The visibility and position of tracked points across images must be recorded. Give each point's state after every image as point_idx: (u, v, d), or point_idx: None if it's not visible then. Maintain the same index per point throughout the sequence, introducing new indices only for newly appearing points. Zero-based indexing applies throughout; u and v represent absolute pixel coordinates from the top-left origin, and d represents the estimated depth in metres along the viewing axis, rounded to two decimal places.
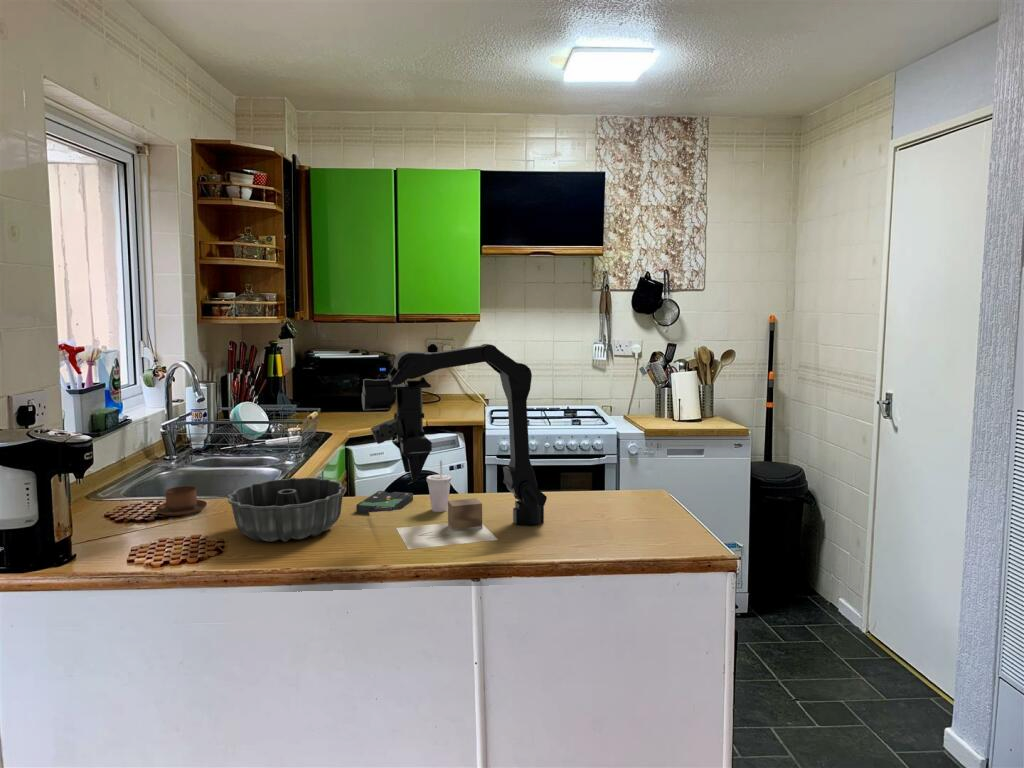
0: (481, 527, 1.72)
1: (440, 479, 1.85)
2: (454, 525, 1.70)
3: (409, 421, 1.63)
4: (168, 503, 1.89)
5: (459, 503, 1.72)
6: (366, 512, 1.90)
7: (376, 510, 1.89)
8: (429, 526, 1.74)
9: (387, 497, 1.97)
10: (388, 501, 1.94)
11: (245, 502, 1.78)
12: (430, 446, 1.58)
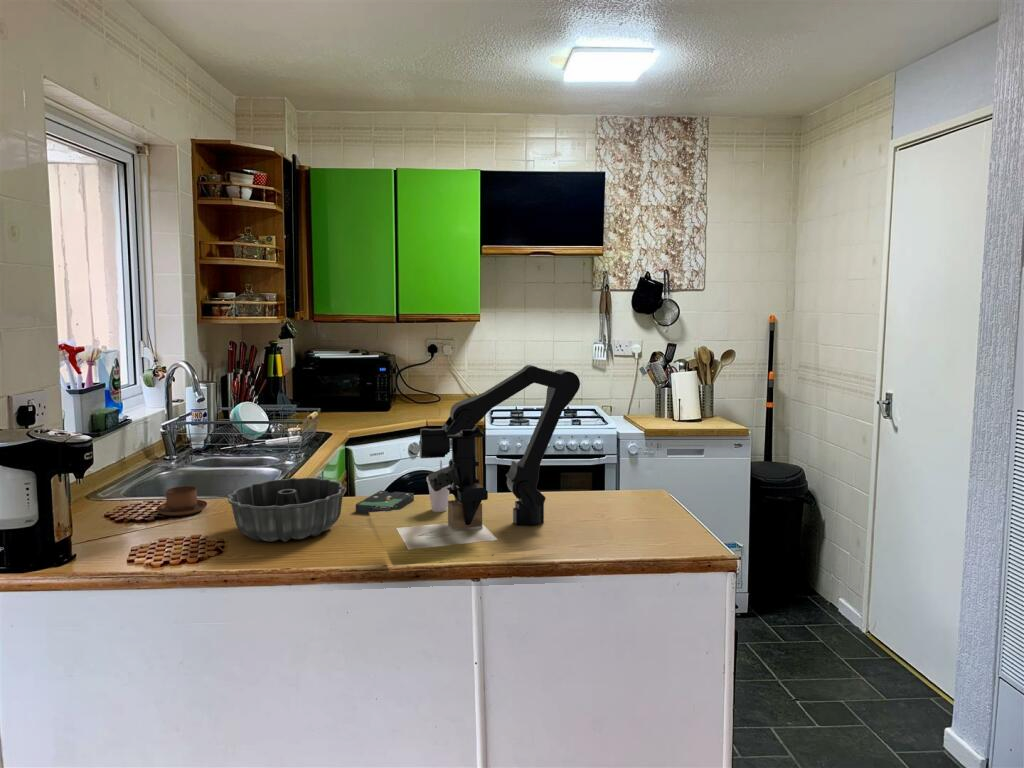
0: (481, 527, 1.72)
1: None
2: (454, 525, 1.70)
3: (465, 469, 1.69)
4: (168, 503, 1.89)
5: (459, 503, 1.72)
6: (365, 512, 1.90)
7: (375, 510, 1.89)
8: (429, 526, 1.74)
9: (387, 497, 1.97)
10: (388, 501, 1.94)
11: (245, 502, 1.78)
12: (486, 495, 1.65)
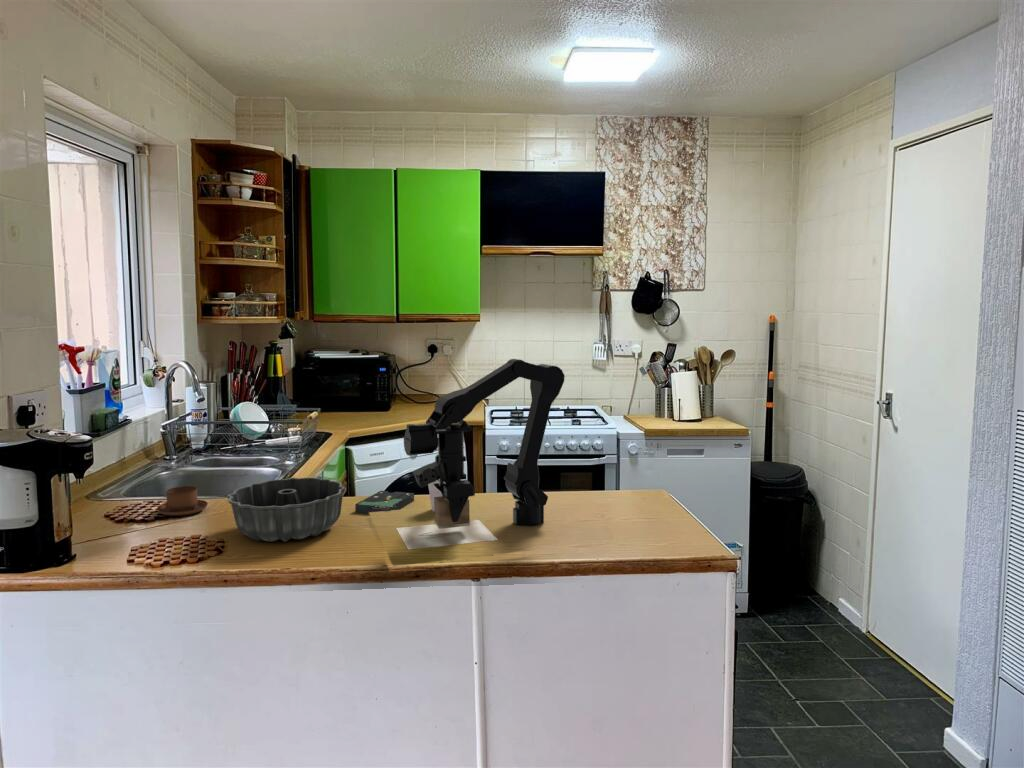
0: (468, 524, 1.68)
1: None
2: (440, 522, 1.66)
3: (451, 464, 1.65)
4: (169, 503, 1.89)
5: (446, 499, 1.67)
6: (365, 511, 1.90)
7: (374, 510, 1.89)
8: (429, 526, 1.74)
9: (387, 497, 1.97)
10: (387, 501, 1.94)
11: (245, 502, 1.78)
12: (473, 491, 1.60)
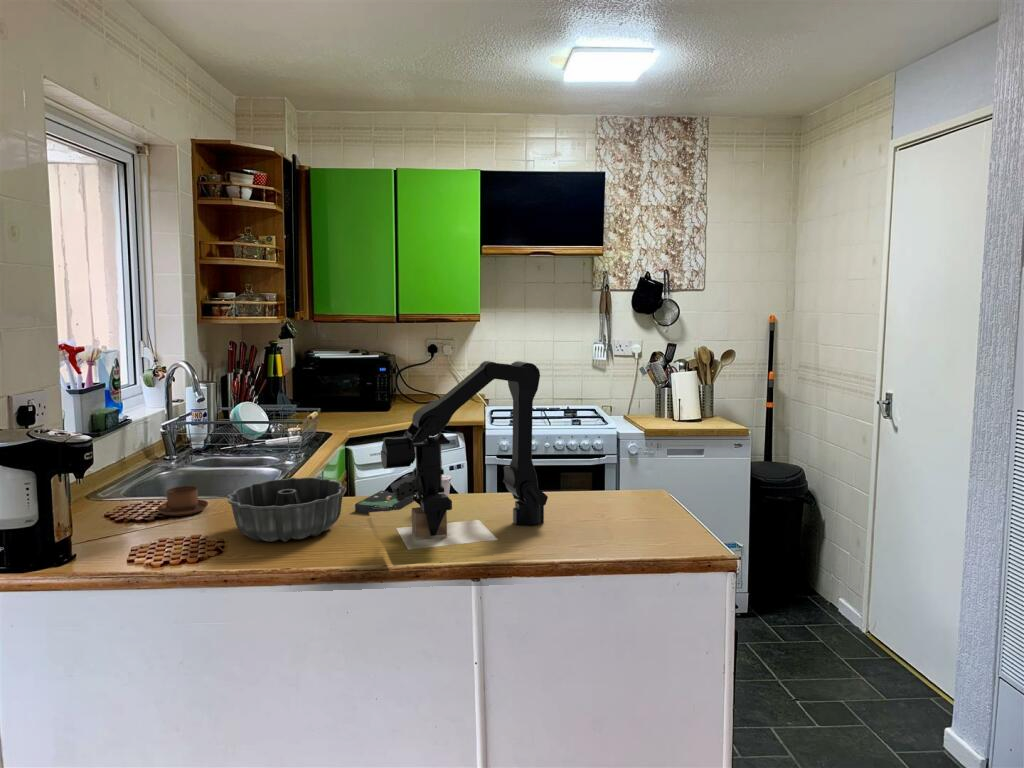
0: (446, 535, 1.66)
1: None
2: (417, 533, 1.64)
3: (429, 478, 1.63)
4: (169, 503, 1.89)
5: None
6: (364, 511, 1.90)
7: (374, 510, 1.89)
8: None
9: (387, 497, 1.97)
10: (387, 501, 1.94)
11: (245, 502, 1.78)
12: (450, 505, 1.59)
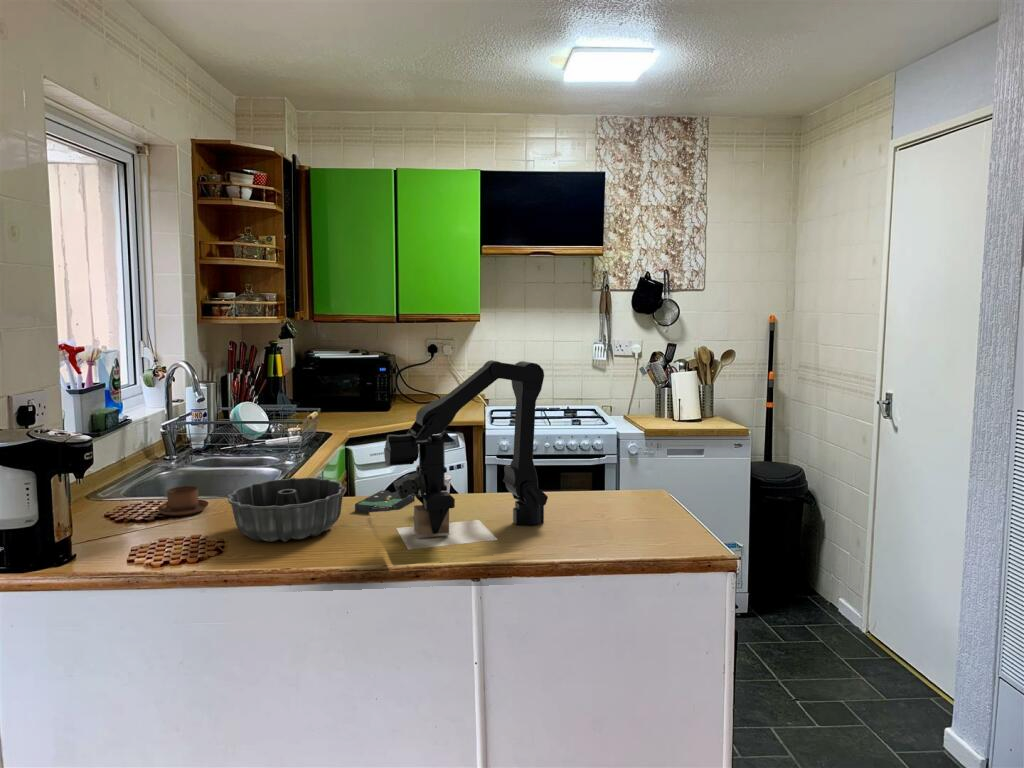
0: (448, 534, 1.66)
1: None
2: (419, 531, 1.64)
3: (432, 476, 1.63)
4: (170, 503, 1.89)
5: None
6: (364, 511, 1.90)
7: (374, 510, 1.89)
8: None
9: (387, 497, 1.97)
10: (387, 501, 1.94)
11: (245, 502, 1.78)
12: (453, 503, 1.59)
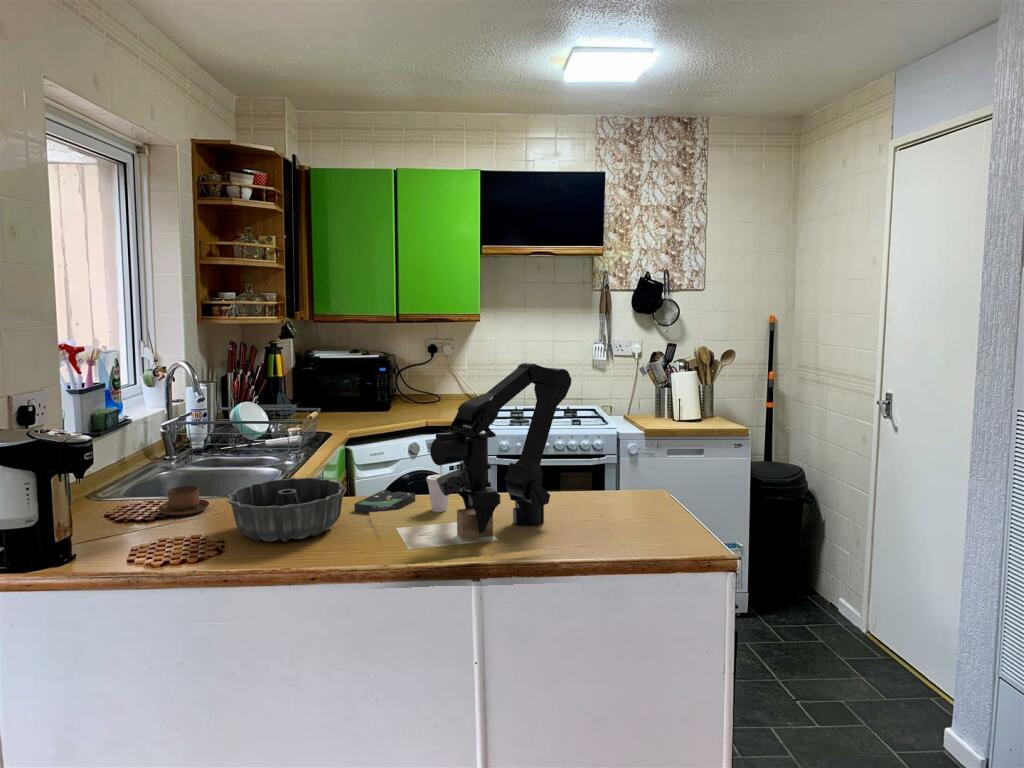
0: (492, 537, 1.65)
1: None
2: (464, 535, 1.63)
3: (476, 472, 1.62)
4: (171, 503, 1.89)
5: (469, 512, 1.64)
6: (363, 511, 1.91)
7: (373, 509, 1.90)
8: (429, 526, 1.74)
9: (387, 497, 1.97)
10: (387, 501, 1.94)
11: (245, 502, 1.78)
12: (499, 499, 1.57)
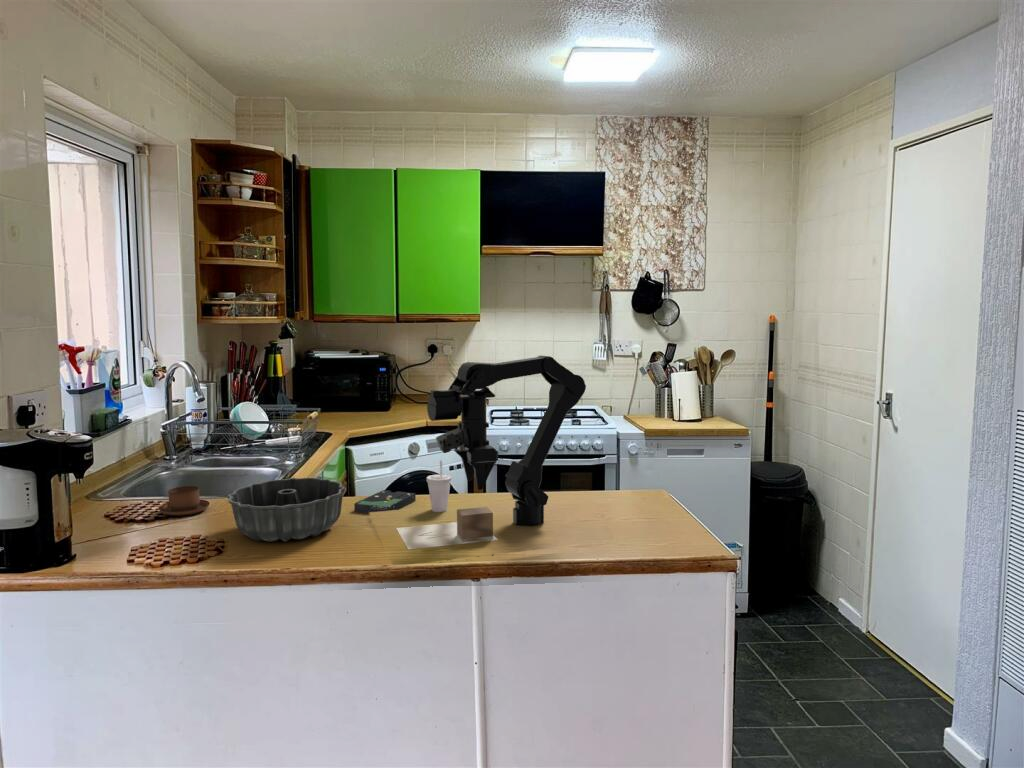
0: (492, 537, 1.65)
1: (441, 479, 1.85)
2: (464, 535, 1.63)
3: (474, 430, 1.65)
4: (171, 503, 1.89)
5: (469, 512, 1.64)
6: (363, 511, 1.91)
7: (372, 509, 1.90)
8: (429, 526, 1.74)
9: (387, 497, 1.97)
10: (387, 501, 1.94)
11: (245, 502, 1.78)
12: (497, 455, 1.61)
